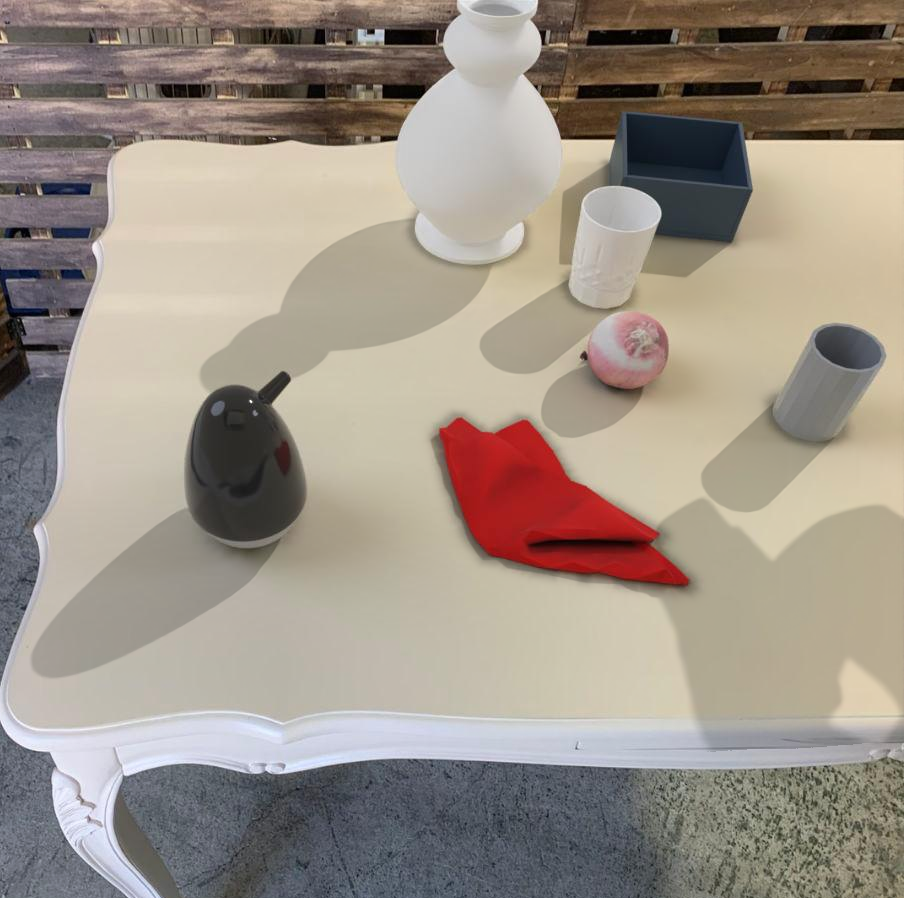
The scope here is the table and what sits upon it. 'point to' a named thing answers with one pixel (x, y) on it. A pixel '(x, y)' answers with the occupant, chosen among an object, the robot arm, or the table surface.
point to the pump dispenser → (244, 466)
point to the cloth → (544, 508)
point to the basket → (685, 171)
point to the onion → (627, 350)
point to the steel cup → (828, 381)
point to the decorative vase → (481, 138)
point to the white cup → (611, 244)
